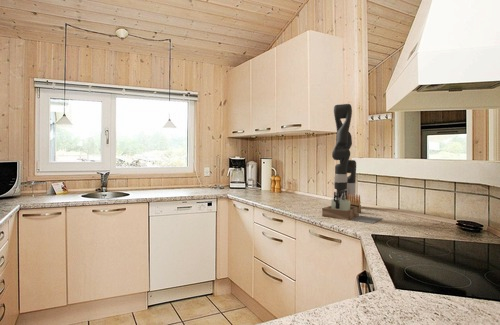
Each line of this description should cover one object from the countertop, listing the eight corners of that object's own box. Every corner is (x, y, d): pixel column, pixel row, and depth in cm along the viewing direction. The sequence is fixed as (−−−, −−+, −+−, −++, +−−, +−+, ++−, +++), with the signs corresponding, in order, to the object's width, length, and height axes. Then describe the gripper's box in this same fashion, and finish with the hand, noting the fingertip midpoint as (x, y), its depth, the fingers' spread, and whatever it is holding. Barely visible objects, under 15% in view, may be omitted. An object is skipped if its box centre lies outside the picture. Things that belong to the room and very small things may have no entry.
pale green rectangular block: (333, 214, 203) (333, 198, 203) (350, 216, 196) (350, 200, 196) (331, 215, 201) (331, 199, 201) (348, 217, 194) (348, 200, 194)
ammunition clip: (361, 213, 208) (361, 194, 208) (359, 213, 207) (359, 194, 207) (347, 210, 217) (347, 192, 216) (345, 211, 216) (345, 192, 215)
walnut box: (333, 212, 210) (333, 204, 210) (358, 215, 200) (358, 207, 200) (322, 216, 198) (322, 208, 198) (348, 219, 187) (348, 211, 187)
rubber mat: (360, 216, 199) (360, 215, 199) (382, 218, 191) (382, 218, 191) (350, 220, 186) (350, 219, 186) (373, 223, 178) (373, 223, 178)
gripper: (339, 180, 206) (339, 205, 206) (329, 181, 195) (329, 208, 195) (351, 181, 201) (350, 207, 202) (341, 182, 190) (341, 210, 191)
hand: (340, 207), depth 199 cm, fingers open, 8 cm apart
